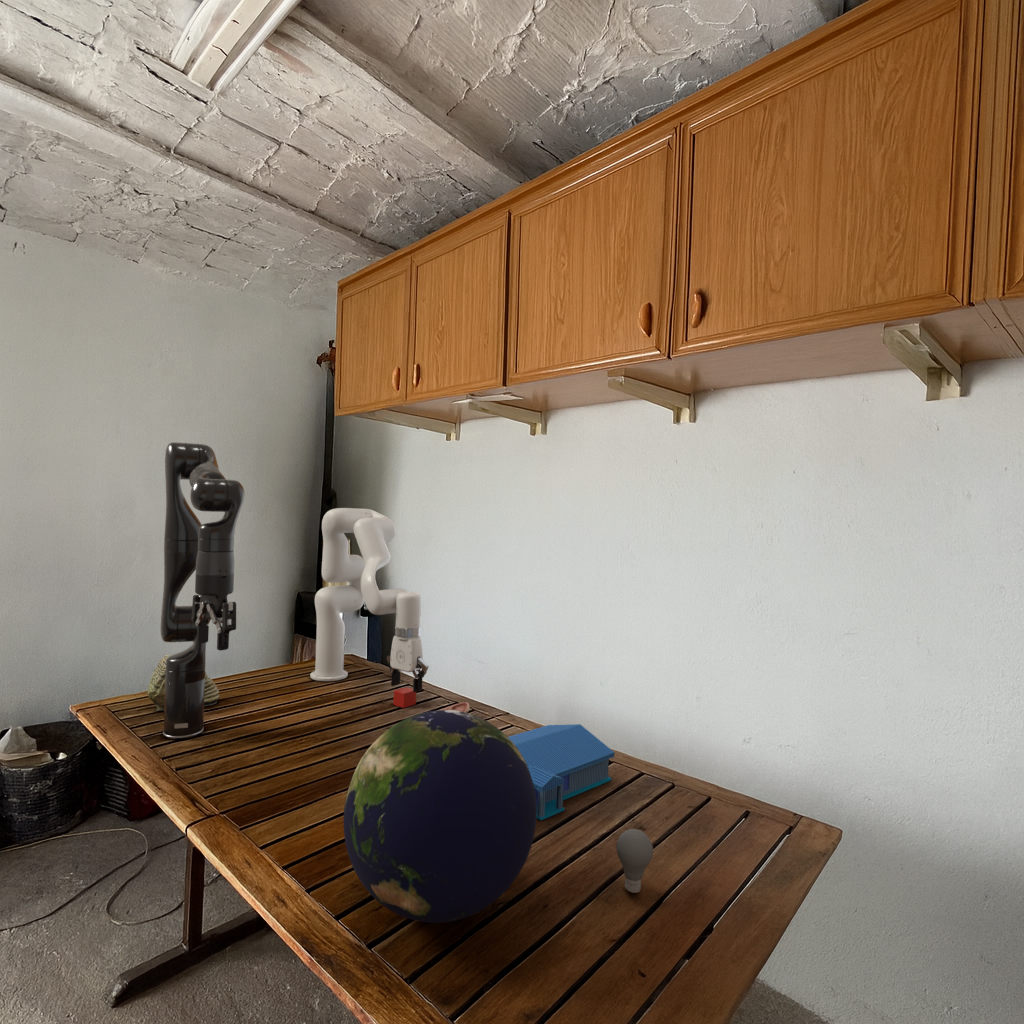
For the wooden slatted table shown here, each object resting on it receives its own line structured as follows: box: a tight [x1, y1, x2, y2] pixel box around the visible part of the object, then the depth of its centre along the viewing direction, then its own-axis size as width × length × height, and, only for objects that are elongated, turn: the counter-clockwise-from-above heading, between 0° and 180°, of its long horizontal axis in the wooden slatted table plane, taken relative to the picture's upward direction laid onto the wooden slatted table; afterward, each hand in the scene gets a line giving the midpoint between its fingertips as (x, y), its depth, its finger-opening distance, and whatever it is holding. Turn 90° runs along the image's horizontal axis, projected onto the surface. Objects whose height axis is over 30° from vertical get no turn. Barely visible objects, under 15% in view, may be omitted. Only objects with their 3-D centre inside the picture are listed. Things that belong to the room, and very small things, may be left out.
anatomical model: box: [436, 701, 470, 713], centre depth 184 cm, size 13×4×12 cm
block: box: [392, 686, 417, 709], centre depth 195 cm, size 4×5×4 cm
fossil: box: [147, 654, 221, 712], centre depth 185 cm, size 9×18×15 cm, turn 132°
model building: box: [507, 723, 615, 821], centre depth 141 cm, size 39×24×10 cm, turn 132°
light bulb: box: [615, 828, 654, 894], centre depth 106 cm, size 6×6×10 cm
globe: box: [343, 709, 537, 924], centre depth 100 cm, size 30×30×30 cm
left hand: (212, 646), depth 137 cm, fingers open, 8 cm apart
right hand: (406, 688), depth 195 cm, fingers open, 9 cm apart
